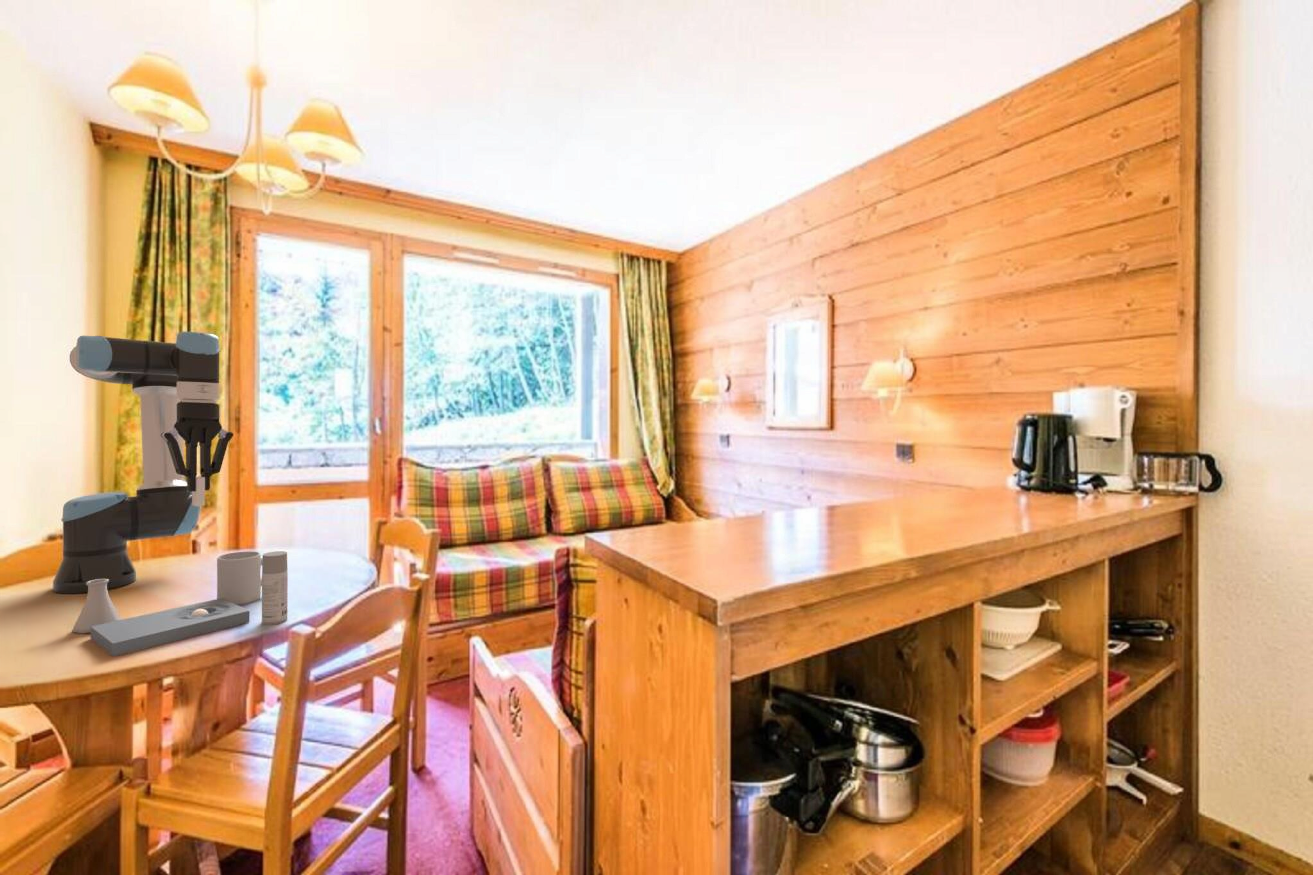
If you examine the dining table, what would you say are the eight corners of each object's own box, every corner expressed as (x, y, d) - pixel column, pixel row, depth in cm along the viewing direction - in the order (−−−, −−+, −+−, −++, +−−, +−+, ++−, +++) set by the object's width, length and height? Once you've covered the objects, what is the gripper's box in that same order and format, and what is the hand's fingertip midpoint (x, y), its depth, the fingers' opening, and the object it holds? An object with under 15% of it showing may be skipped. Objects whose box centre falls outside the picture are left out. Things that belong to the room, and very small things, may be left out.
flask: (95, 621, 120) (94, 575, 120) (131, 621, 121) (131, 575, 121) (62, 634, 113) (61, 586, 113) (101, 634, 114) (100, 586, 113)
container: (280, 615, 127) (281, 549, 126) (291, 619, 124) (292, 553, 124) (257, 621, 123) (257, 554, 122) (268, 626, 120) (268, 557, 120)
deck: (90, 638, 111) (90, 626, 111) (222, 608, 130) (222, 597, 130) (112, 656, 104) (112, 643, 104) (249, 621, 122) (249, 610, 122)
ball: (185, 623, 120) (189, 607, 120) (202, 621, 122) (206, 607, 123) (191, 626, 118) (196, 611, 119) (209, 625, 121) (213, 610, 121)
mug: (220, 608, 130) (220, 561, 130) (213, 599, 136) (213, 554, 135) (281, 597, 139) (281, 553, 138) (272, 589, 145) (272, 547, 144)
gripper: (167, 400, 119) (168, 510, 120) (239, 402, 130) (239, 503, 131) (155, 400, 123) (155, 506, 124) (225, 402, 134) (225, 500, 135)
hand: (198, 505), depth 127 cm, fingers closed
